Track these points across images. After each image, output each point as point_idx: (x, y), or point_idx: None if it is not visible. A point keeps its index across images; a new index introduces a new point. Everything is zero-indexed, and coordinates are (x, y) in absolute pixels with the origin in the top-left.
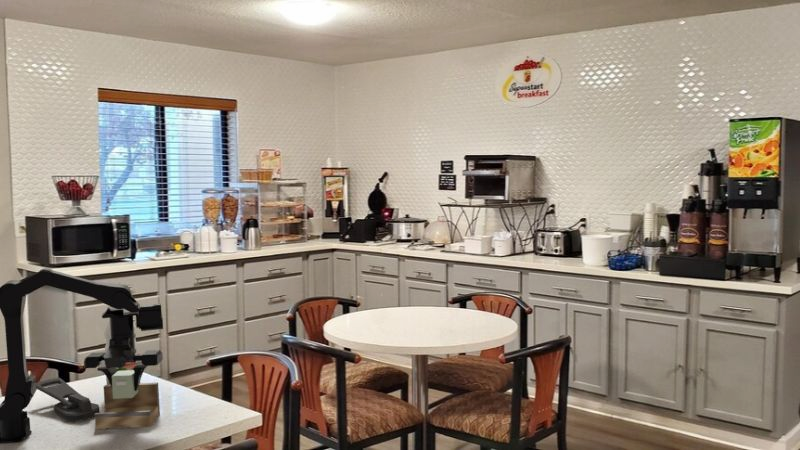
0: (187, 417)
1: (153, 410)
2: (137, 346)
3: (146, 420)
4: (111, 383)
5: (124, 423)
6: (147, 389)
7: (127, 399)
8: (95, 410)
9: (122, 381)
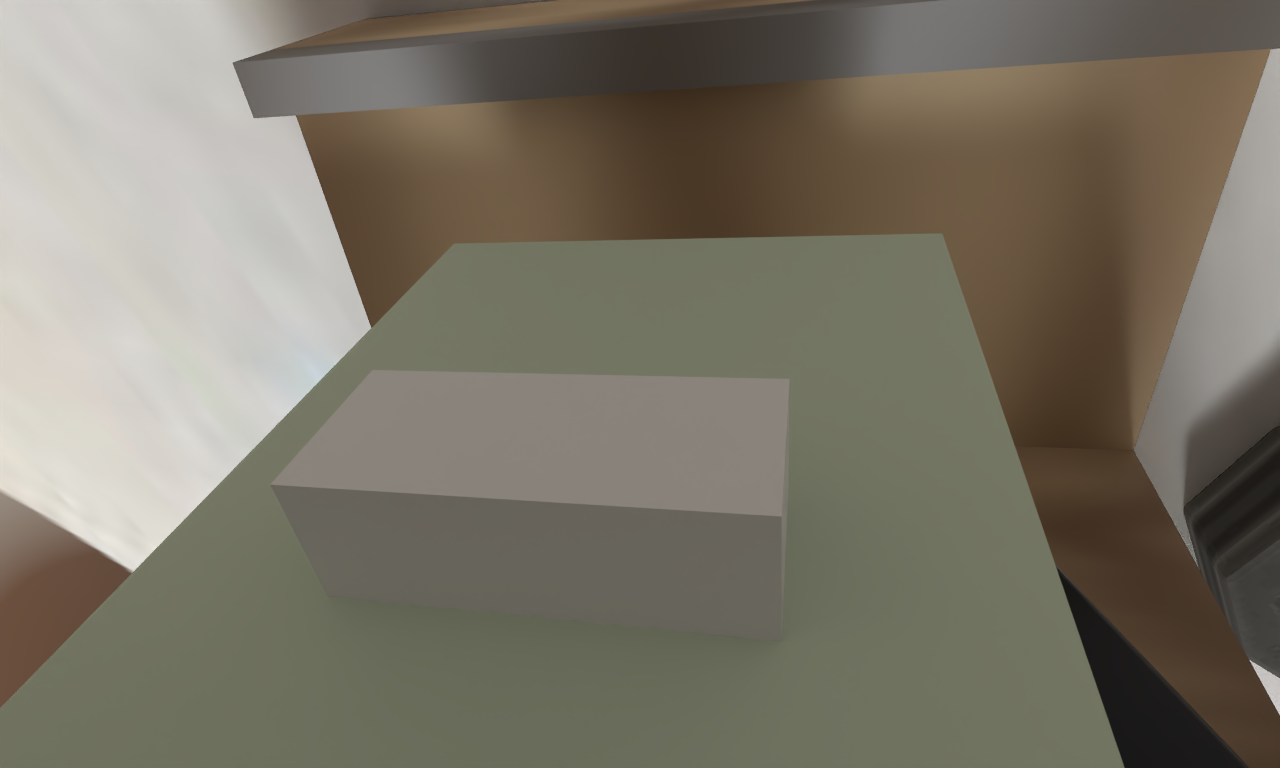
0: (154, 288)
1: (353, 263)
2: None
3: (364, 27)
4: (1108, 679)
5: None
6: None
7: None
8: (1271, 517)
9: (421, 498)
